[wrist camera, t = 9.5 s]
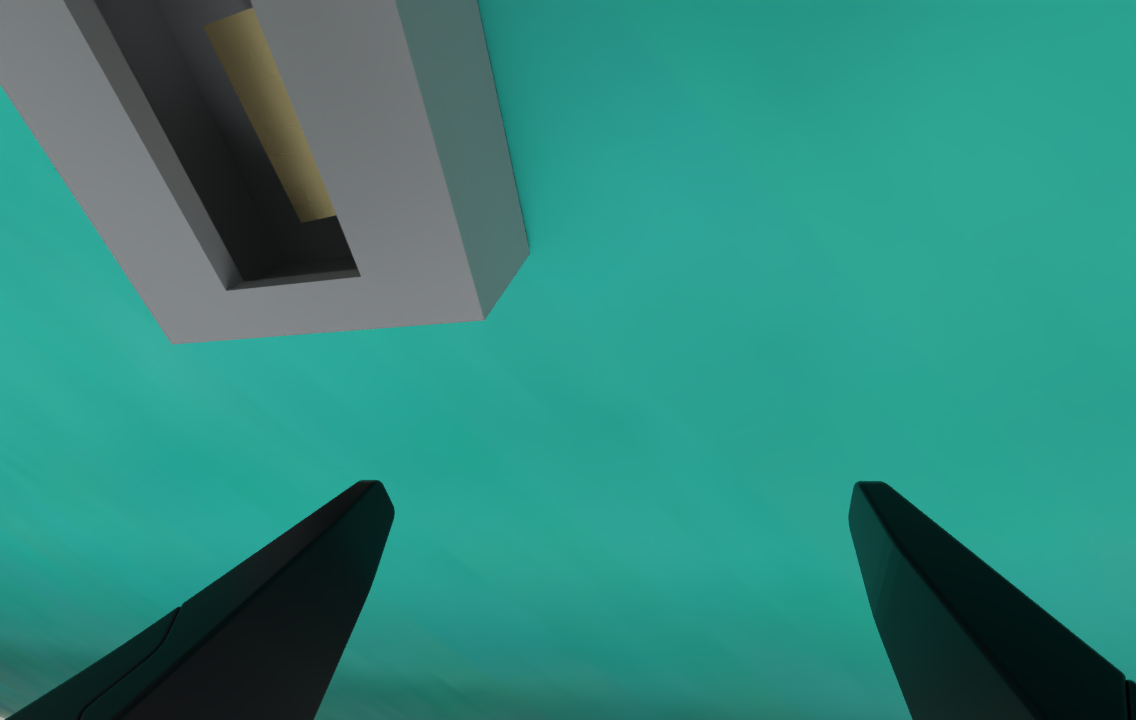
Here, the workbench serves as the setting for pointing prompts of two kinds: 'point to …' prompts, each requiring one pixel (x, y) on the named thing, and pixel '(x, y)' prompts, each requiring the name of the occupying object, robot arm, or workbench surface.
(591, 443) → the workbench surface
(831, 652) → the workbench surface
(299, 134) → the tall cream wooden block
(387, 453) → the workbench surface
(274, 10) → the slot box
